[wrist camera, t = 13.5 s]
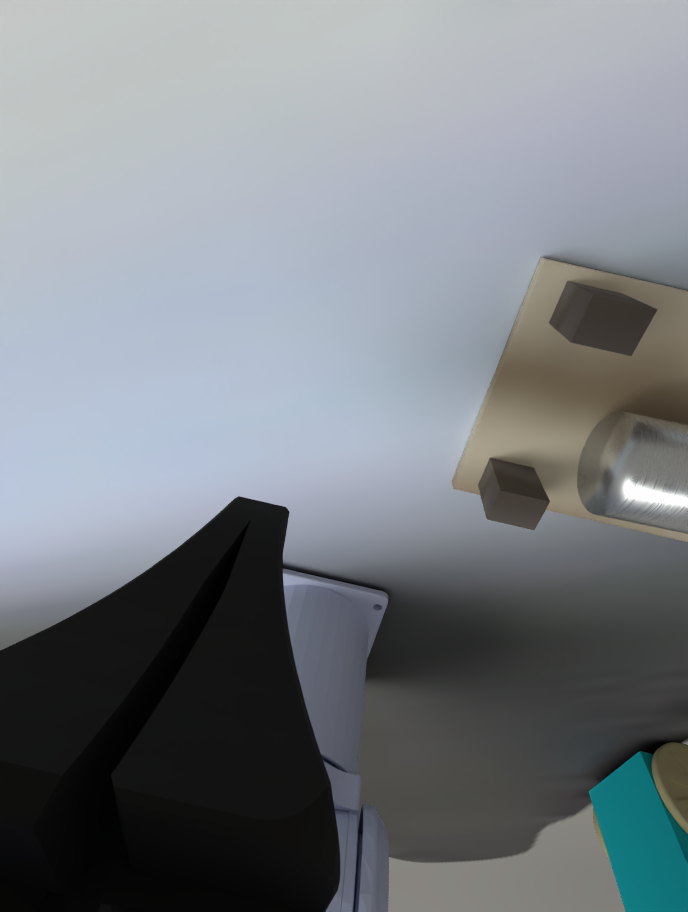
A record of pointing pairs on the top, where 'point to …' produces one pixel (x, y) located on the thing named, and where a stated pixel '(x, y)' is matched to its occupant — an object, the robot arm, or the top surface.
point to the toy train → (647, 828)
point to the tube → (636, 471)
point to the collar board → (573, 388)
